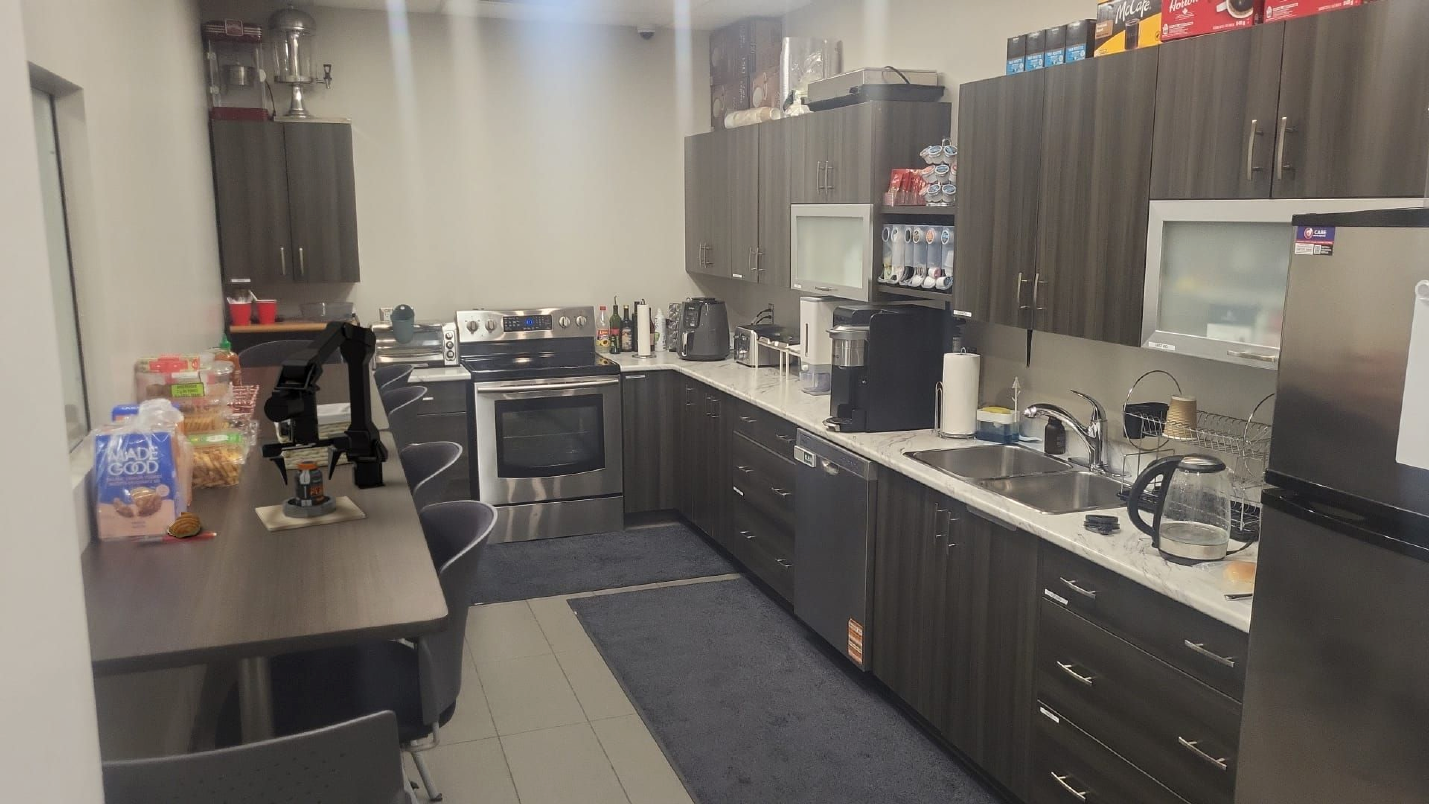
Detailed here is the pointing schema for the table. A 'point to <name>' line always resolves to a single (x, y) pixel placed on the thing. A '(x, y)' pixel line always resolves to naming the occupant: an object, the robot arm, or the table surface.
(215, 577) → the table surface
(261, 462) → the table surface
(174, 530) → the pastry
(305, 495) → the pill bottle
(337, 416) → the storage basket
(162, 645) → the table surface
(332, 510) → the ring holder
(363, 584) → the table surface
